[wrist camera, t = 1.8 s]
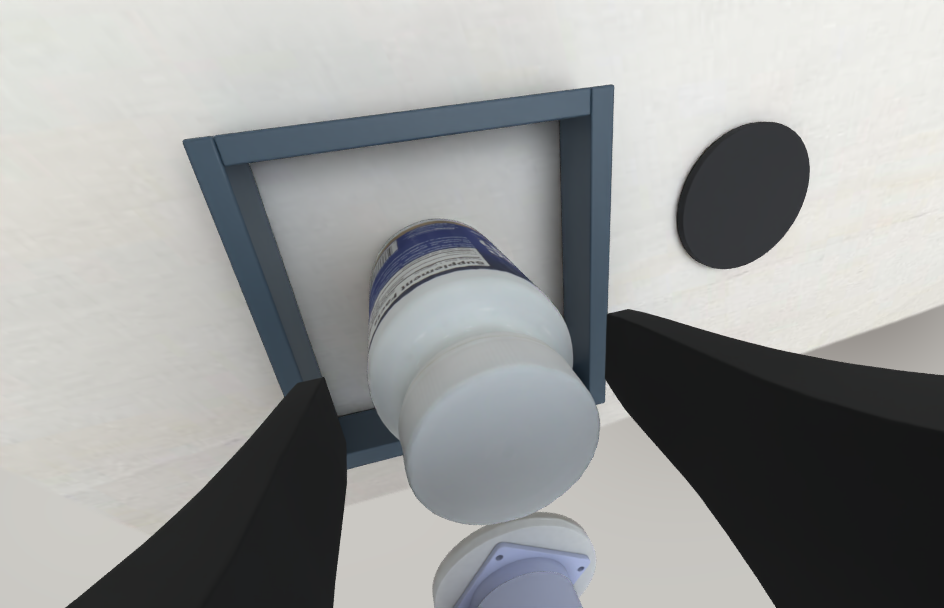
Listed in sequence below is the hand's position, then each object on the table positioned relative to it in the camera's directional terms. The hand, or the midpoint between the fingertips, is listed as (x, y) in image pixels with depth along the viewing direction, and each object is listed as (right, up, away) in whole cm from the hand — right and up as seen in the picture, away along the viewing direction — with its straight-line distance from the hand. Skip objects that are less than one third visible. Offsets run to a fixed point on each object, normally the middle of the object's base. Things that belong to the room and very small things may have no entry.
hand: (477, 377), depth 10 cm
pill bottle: (-2, +3, +7) cm, 7 cm away
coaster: (+12, +7, +8) cm, 16 cm away
